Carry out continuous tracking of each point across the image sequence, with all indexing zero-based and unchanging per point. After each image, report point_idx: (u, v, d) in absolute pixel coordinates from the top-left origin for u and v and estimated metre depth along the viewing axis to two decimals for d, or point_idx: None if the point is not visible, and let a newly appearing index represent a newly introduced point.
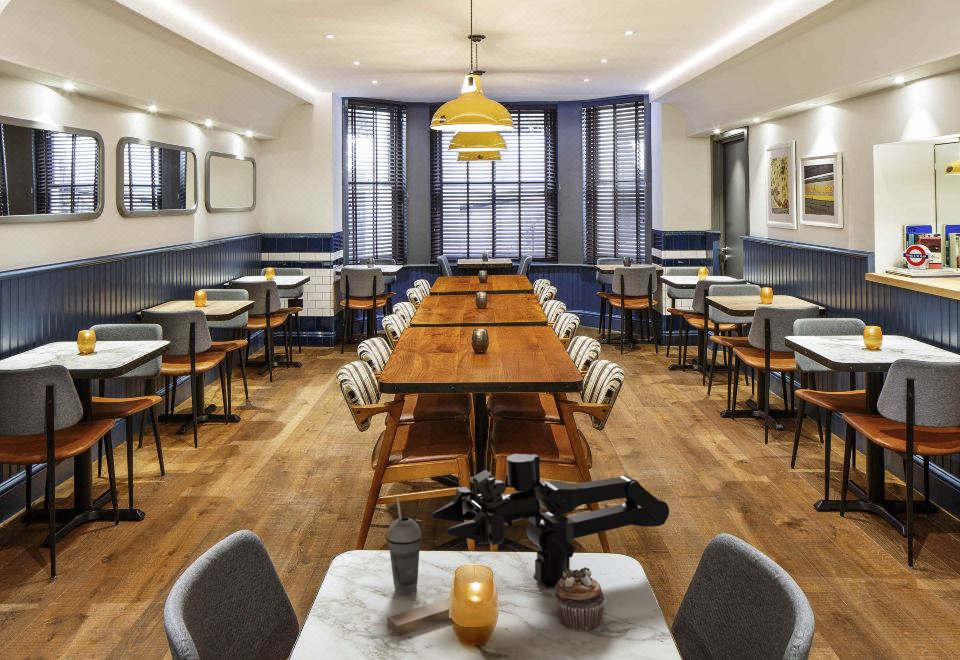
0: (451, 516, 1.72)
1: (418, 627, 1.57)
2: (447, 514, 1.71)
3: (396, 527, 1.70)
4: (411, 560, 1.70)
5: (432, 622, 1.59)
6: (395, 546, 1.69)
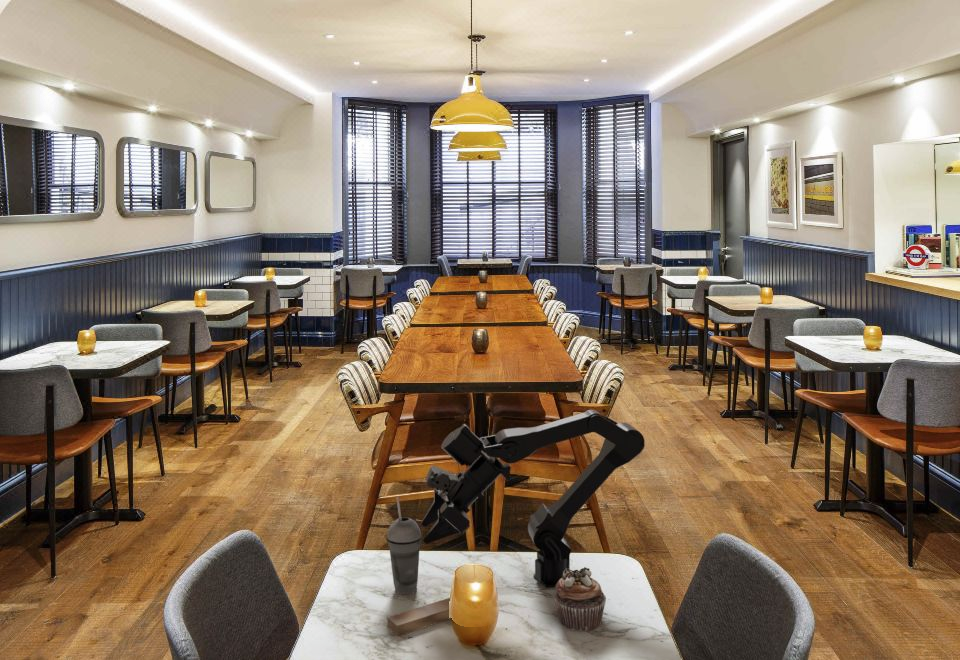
0: None
1: (418, 627, 1.57)
2: (434, 515, 1.77)
3: (396, 527, 1.70)
4: (411, 560, 1.70)
5: (432, 622, 1.59)
6: (395, 546, 1.69)
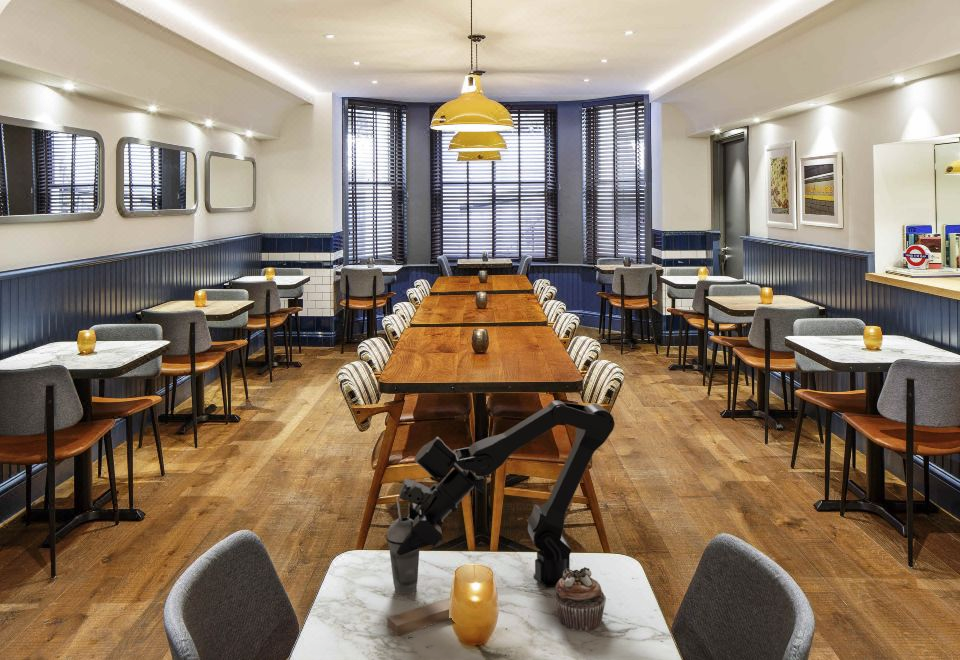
0: None
1: (418, 627, 1.57)
2: None
3: (396, 527, 1.70)
4: (411, 560, 1.70)
5: (432, 622, 1.59)
6: (395, 546, 1.69)
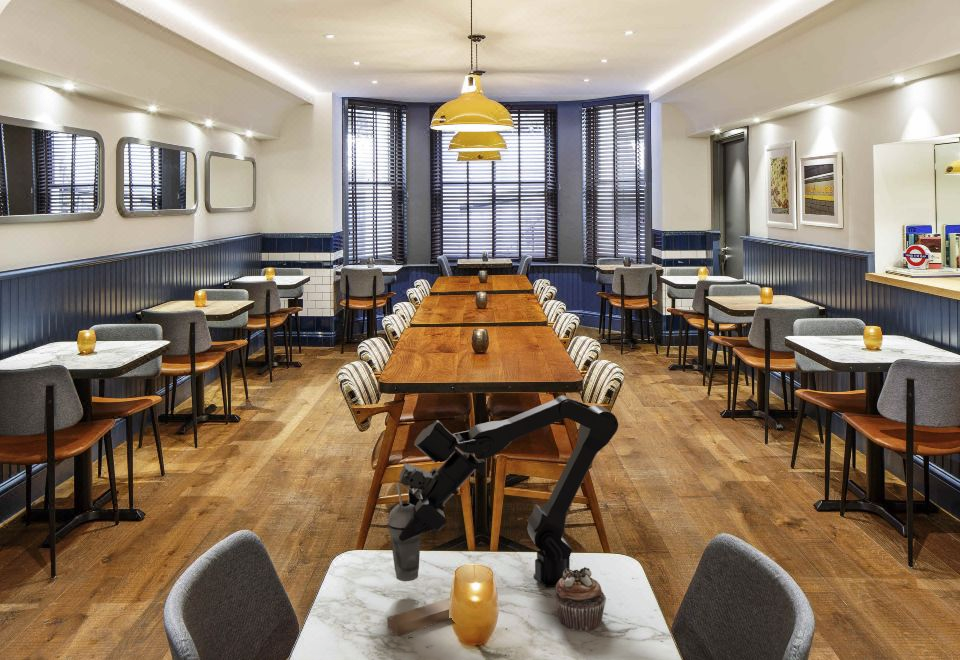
0: None
1: (418, 627, 1.57)
2: None
3: (398, 512, 1.68)
4: (413, 545, 1.68)
5: (432, 622, 1.59)
6: (397, 532, 1.67)
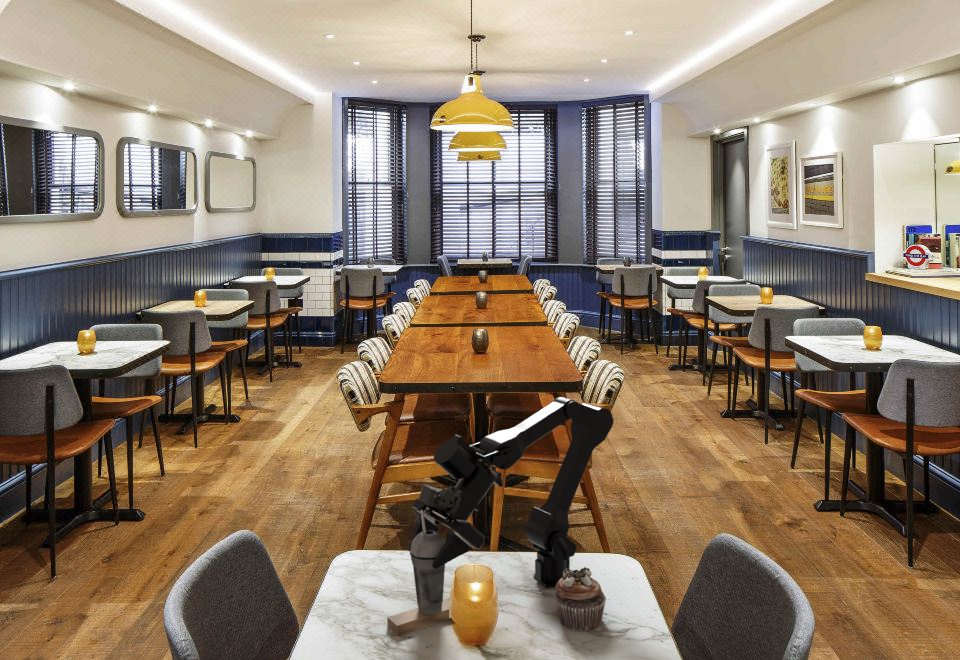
0: None
1: (418, 627, 1.57)
2: None
3: (426, 541, 1.57)
4: (441, 574, 1.58)
5: (432, 622, 1.59)
6: (427, 562, 1.56)
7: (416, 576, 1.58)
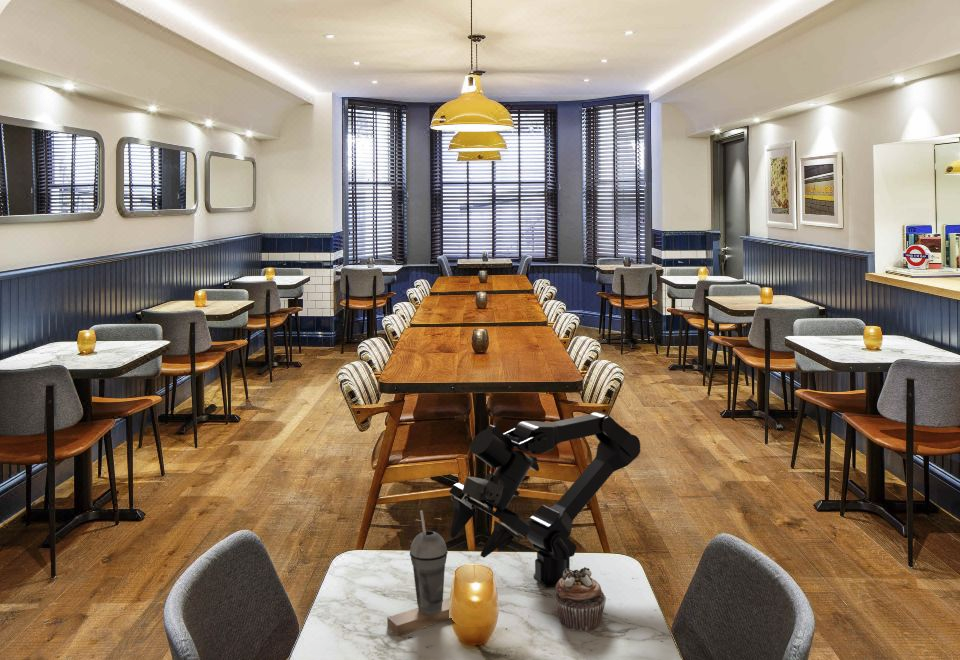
0: (464, 520, 1.69)
1: (418, 627, 1.57)
2: (461, 523, 1.69)
3: (426, 542, 1.57)
4: (441, 575, 1.58)
5: (432, 622, 1.59)
6: (427, 563, 1.56)
7: (416, 577, 1.58)
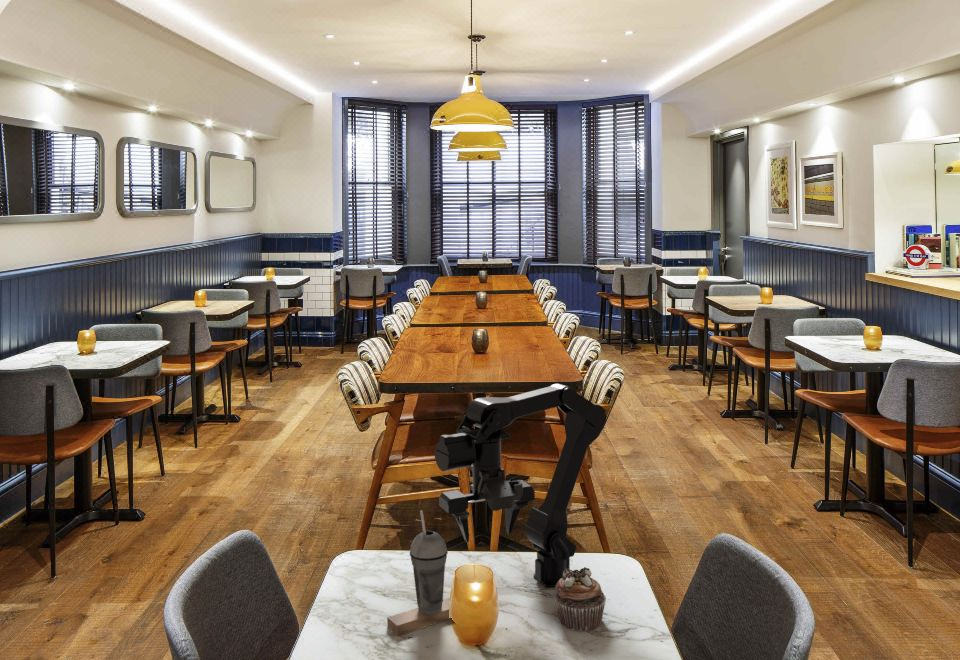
0: None
1: (418, 627, 1.57)
2: None
3: (426, 542, 1.57)
4: (441, 575, 1.58)
5: (432, 622, 1.59)
6: (427, 563, 1.56)
7: (416, 577, 1.58)
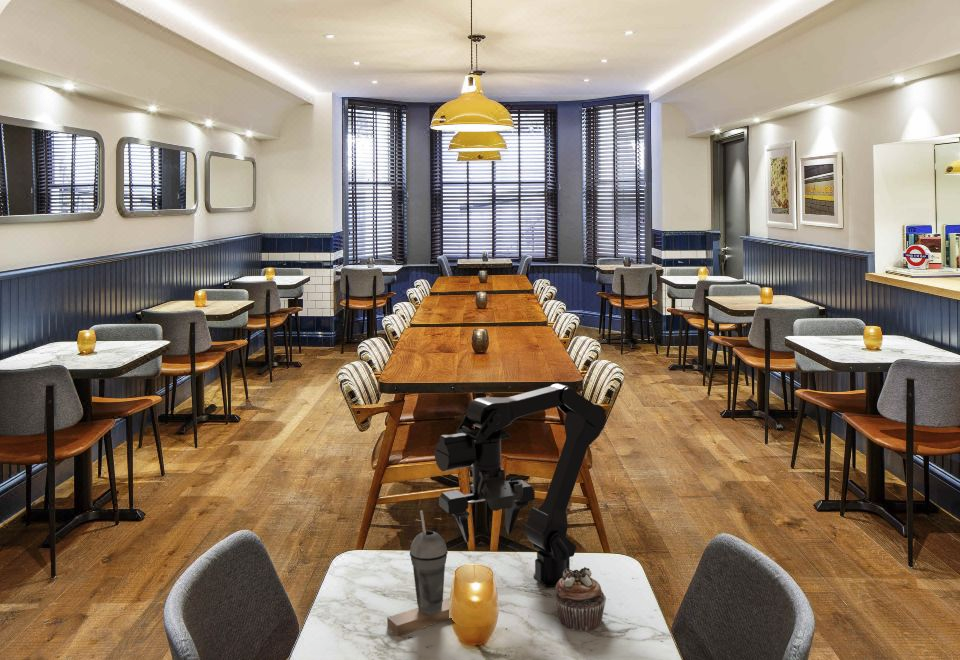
0: None
1: (418, 627, 1.57)
2: None
3: (426, 542, 1.57)
4: (441, 575, 1.58)
5: (432, 622, 1.59)
6: (427, 563, 1.56)
7: (416, 577, 1.58)
